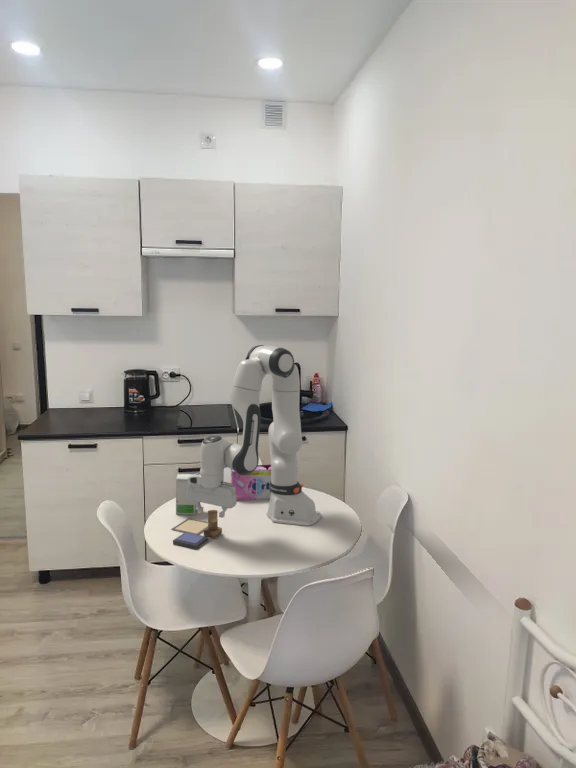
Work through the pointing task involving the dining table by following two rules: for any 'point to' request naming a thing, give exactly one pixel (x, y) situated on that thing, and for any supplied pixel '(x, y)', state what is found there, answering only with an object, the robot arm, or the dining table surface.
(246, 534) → the dining table surface
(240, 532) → the dining table surface
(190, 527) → the marked card
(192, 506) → the skincare box
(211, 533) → the stamp
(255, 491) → the gum box
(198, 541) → the ink pad
